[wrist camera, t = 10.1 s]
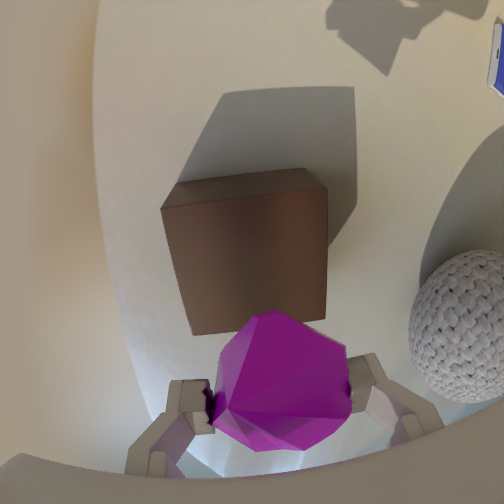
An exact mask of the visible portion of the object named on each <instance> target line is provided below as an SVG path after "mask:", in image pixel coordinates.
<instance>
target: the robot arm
mask: <svg viewBox="0 0 504 504" xmlns="http://www.w3.org/2000/svg"><path fill="white" fill-rule="evenodd" d="M347 364H348V373H349V379H348V385H349V397H350V399H351V400H352V411H351V414H352V413H357V412H361V411H365V410H366V411H365V412H367V413H368V414H369V415H370V416H371V417H373V418H374V419H375V420H376V421H378V422H379V423H380V424H381V425H382V426H384V427H385V428H386V429H387V430H389V431H390V432H391V433H392V434H393V435H392V437H391V439H390V441H389V442H388V444H387V446H386V447H387V449H384V450H381V451H378V452H375V453H371V454H368V455H364V456H361V457H357V458H353V459H349V460H345V461H341V462H337V463H332V464H327V465H323V466H318V467H313V468H307V469H301V470H295V471H289V472H282V473H274V474H266V475H257V476H245V477H231V478H206V479H205V478H201V479H188V478H186V479H185V476H184V475H183V473H182V472H181V471H180V470H179V468H178V467H177V466H176V463H177V461H178V460H179V459H180V457H181V456H182V454H183V453H184V451H185V450H186V449H187V447H188V446H189V444H190V443H191V441H192V440H193V438H194V437H195V435H202V434H215V427H214V426H213V425H211V423H212V414H213V413H212V409H213V400H214V395H213V391H212V390H211V389H210V383H209V380H208V379H193V380H171V382H170V385H169V391H168V398H167V405H166V412H163V413H161V414H160V415H159V417H158V418H157V419H156V420H155V421H154V422H153V423H152V424H151V425H150V426H149V427H148V429H147V430H146V431H145V432H144V433H143V434H142V435H141V436H140V437H139V438H138V439H137V440H136V441H135V442H134V443H133V445H132V446H131V447H130V448H129V451H128V456H127V461H126V467H125V474H117V473H110V472H103V471H97V470H91V469H85V468H80V467H75V466H71V465H66V464H61V463H58V462H54V461H50V460H46V459H42V458H39V457H35V456H32V455H28V454H24V453H20V454H17V455H16V456H14V457H13V458H11V459H10V460H8V461H7V462H6V463H5V464H3V465H2V466H1V467H0V504H504V397H503V398H501V399H499V400H497V401H496V402H494V403H492V404H490V405H488V406H487V407H485V408H483V409H481V410H479V411H477V412H475V413H473V414H471V415H469V416H467V417H465V418H463V419H461V420H459V421H457V422H455V423H452V424H450V425H448V426H446V427H445V426H444V424H443V422H442V420H441V418H440V416H439V414H438V412H437V410H436V408H435V406H434V404H432V403H430V402H428V401H427V400H425V399H423V398H422V397H420V396H418V395H416V394H415V393H413V392H411V391H410V390H408V389H406V388H404V387H403V386H401V385H399V384H398V383H396V382H394V381H393V380H390V381H389V380H388V378H387V376H386V374H385V372H384V370H383V368H382V366H381V364H380V362H379V360H378V358H377V356H376V354H375V353H370V354H365V355H360V356H356V357H351V358H347Z"/></svg>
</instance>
